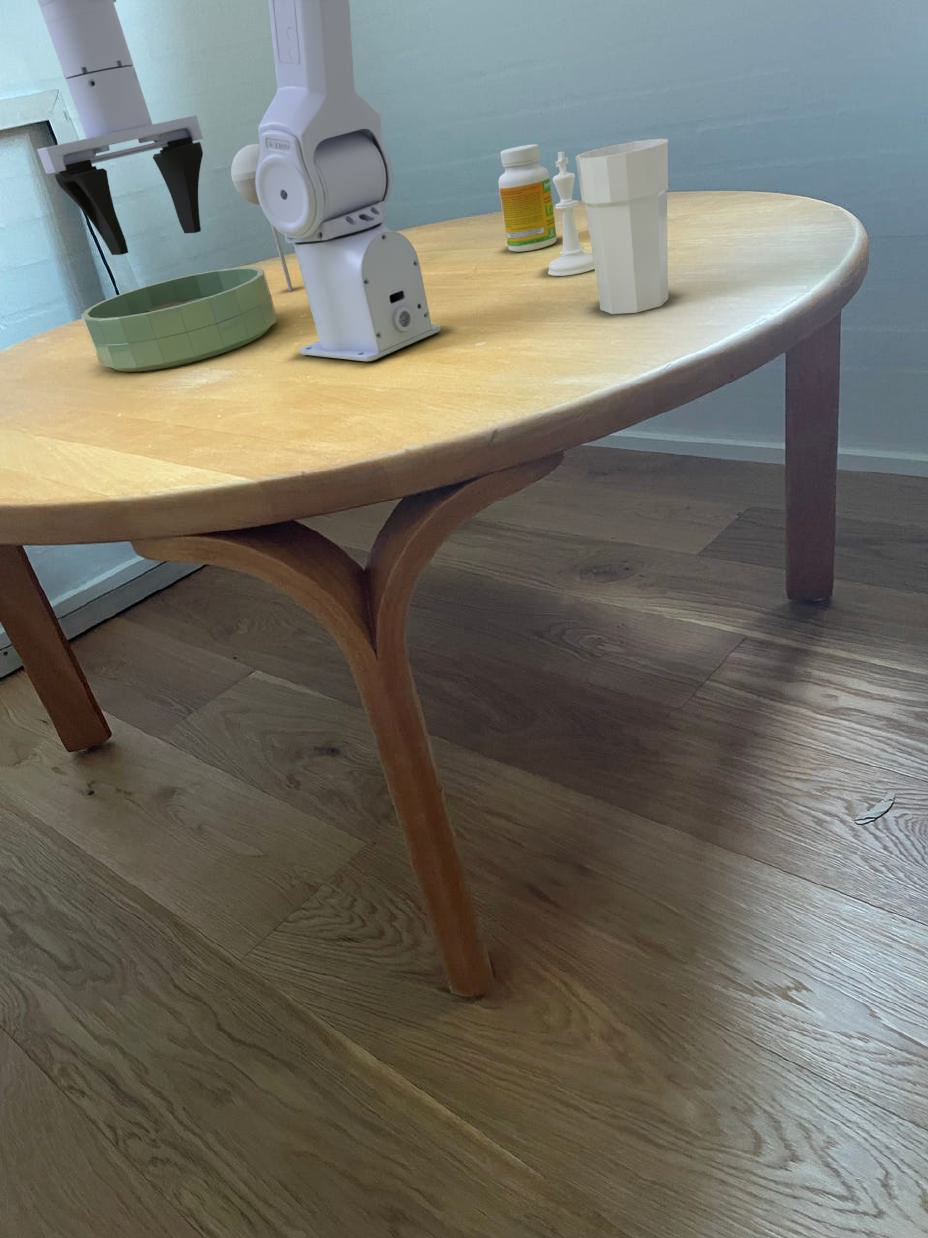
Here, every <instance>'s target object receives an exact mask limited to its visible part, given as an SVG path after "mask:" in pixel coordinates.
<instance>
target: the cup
mask: <svg viewBox="0 0 928 1238" xmlns="http://www.w3.org/2000/svg"><path fill="white" fill-rule="evenodd" d="M669 162H670V161H669V139H668V138H649V139H643V140H641V139H640V140H634V141H629V142H624V143H618V144H612V145H608V146H603V147H600V148H595V149H592V150H589V151H585V152H582V153H580V154H577V155H576V156H575V165H576V170H577V177H578V183H579V190H580V197H581V203H582V204H583V206H584V210H585V216H586V217H585V218H586V223H587V229H588V235H589V242H590V249H591V253H592V255H593V262H594V268H595V269H594V274H595V280H596V286H597V294H598V300H599V309H600V311H602V312H605V313H607V314H611V315H620V314H635V313H636V314H637V313H640V312H644V311H648V310H652V309H655V308H658V307H662V306H663V305H664V304H665V303H666V302H667V301H668V300H669V267H668V266H669V265H668V263H669V257H668V256H669V255H668V251H669V249H668V189H669V188H670V187H669V185H670V184H669V183H670V175H669V171H670V169H669V167H670V165H669Z"/></svg>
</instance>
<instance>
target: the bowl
mask: <svg viewBox="0 0 928 1238" xmlns="http://www.w3.org/2000/svg"><path fill="white" fill-rule="evenodd" d="M169 302H187V303H186V304H182V305H178V306H174V307H170V308H165V309H161V310H157V311H152V312H147V313H146V310H148V309H151V308H154V307H157V306H160V305H163V304H166V303H169ZM80 317H81V320H82V322H83V323H84V327H85V329H86V331H87V334H88V337H89V339H90V342H91V344H92V347H93V350H94V352H95V355H96V357H97V360H98V362H99V364H101V366H102V367H104V368H105V367H106V368H109V369H110V368H111V369H113V370H115V371H118V372H125V373H126V372H127V373H136V372H148V371H156V370H163V369H168V368H174V367H178V366H183V365H187V364H192V363H196V362H199V361H202V360H207V359H209V358H213V357H216V356H219V355H222V354H225V353H228V352H230V351H233V350H236V349H238V348H241V347H243V346H245V345H248V344H249V343H252V342H253V341H255V340H257V339H258V338H259V339H260V337H262V336H264V335H265V334H266V333H267V332H268V331H269V330H270V328H271V326H273V325H274V324H276V322H277V312H276V308H275V305H274V301H273V298H272V295H271V290H270V287H269V284H268V280H267V276H266V274H265V269H262V268H260V267H257V266H256V267H255V266H253V267H252V266H245V267H244V266H239V267H231V268H223V269H221V268H220V269H216V270H209V271H205V272H198V273H193V274H188V275H185V276H179V277H176V278H171V279H167V280H164V281H160V282H156V283H153V284H148V285H145V286H142V287H138V288H136V289H135V288H134V289H131V290H129V291H126V292H123V293H120V294H118V295H115V296H113V297H109V298H107V299H104V300H101V301H100V302H98V303H96V304H93V305H92V306H90V307H87V308H86V310H84V312H83V313H82V314H81V315H80Z"/></svg>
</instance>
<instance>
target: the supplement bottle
mask: <svg viewBox="0 0 928 1238" xmlns="http://www.w3.org/2000/svg"><path fill="white" fill-rule="evenodd" d="M540 156H541V154H540V149H539V144H537V143H533V144H532V143H531V144H525V145H520V146H515V147H514V146H513V147H510V148H506V149H503V150H501V151H500V161H501V165H502V167H503V168H504V172H503V173H502V174H501V175H500V176H499V178H498V181H497V182H498V192H499V198H500V205H501V212H502V218H503V225H504V233H505V238H506V239H505V240H506V245H507V249H508V250H509V251H511V252H518V253H519V252H529V251H535V250H540V249H543V248H546V247H549V246H553V244H555V243H556V242H557V229H556V221H555V213H554V205H553V196H552V190H551V189H552V188H551V180H550V174H549V171H548V169H547V168H546V167H545V166H541V165H540V164H539V160H541V157H540Z"/></svg>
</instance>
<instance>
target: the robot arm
mask: <svg viewBox="0 0 928 1238" xmlns="http://www.w3.org/2000/svg"><path fill="white" fill-rule="evenodd" d="M37 3H38V5H39V8H40V11H41V14H42V17H43V20H44V22H45V25H46V28H47V30H48V33H49V37H50V39H51V43H52V45H53V48H54V51H55V53H56V56H57V59H58V62H59V65H60V66H61V70H62V73H63V76H64V79H65V81H66V84H67V87H68V90H69V92H70V96H71V98H72V101H73V105H74V106H75V109H76V113H77V114H78V118H79V121H80V123H81V127H82V129H83V132H84V135H85V138H83V139H79V140H74V141H73V140H72V141H70V142H65V143H60V144H56V145H55V144H54V145H51V146H46V147H41V148H37V149H36V151H37V153H38V157H39V159H40V162H41V164H42V167H43V170H44V172H45V174H46V175H50V174H54V178H55V180H56V182H57V184H58V186H59V187H60V188H61V189H62V190H63V191H64V192H65V193H66V194H67V195H68V196H69V197H70V198H71V199H72V200H73V201H74V203H75V204H76V205H77V206H78V207H79V208H80V210H81V211H82V212H83V213H84V214H85V215H86V217H87V218H88V219H89V221H90V222H91V224H92V225H93V227H94V228H95V229H96V231H97V232H98V234H99V236H100V237H101V238H102V240H103V241H104V244H105V245H106V247H107V248H108V250H109V253H110V254H111V256H122V255H125V254H129V249H128V244H127V241H126V238H125V235H124V232H123V229H122V227H121V224H120V221H119V219H118V216H117V213H116V210H115V205H114V202H113V197H112V194H111V189H110V184H109V183H110V182H109V177H108V171H107V169H105V168H103V167H102V168H97V166H96V165H94V166H93V164H98V163H102V162H106V161H110V160H115V159H119V158H123V157H128V156H131V155H137V154H142V153H145V152H149V151H153V150H157V149H160V150H159V153H154V154H153V155H152V159H153V161H154V163H155V165H156V166H157V168H158V170H159V173H160V174H161V176H162V178H163V181H164V182H165V185H166V187H167V190H168V192H169V194H170V197H171V200H172V203H173V206H174V210H175V213H176V216H177V219H178V222H179V224H180V227H181V229H182V232H183V233H184V234H197V233H199V232H201V231H202V229H201V228H202V227H201V219H200V218H201V217H200V208H199V207H200V206H199V183H200V182H199V181H200V172H201V166H202V165H201V164H202V160H203V155H204V152H203V146H202V143H201V142H200V141H199V140H202V139H204V136H203V133H202V130H201V126H200V123H199V120H198V117H197V114H196V115H191V116H186V117H181V118H176V119H170V120H168V121H163V122H157V123H154V124H153V121H152V118H151V115H150V112H149V109H148V105H147V102H146V100H145V97H144V93H143V91H142V86H141V84H140V81H139V77H138V75H137V72H136V68H135V66H134V62H133V59H132V56H131V53H130V49H129V46H128V43H127V40H126V37H125V34H124V31H123V28H122V24H121V21H120V17H119V15H118V12H117V9H116V6H115V5H116V4H115V3H117V0H37ZM267 4H268V10H269V21H270V33H271V40H272V49H273V60H274V68H275V70H274V71H275V78H276V88H277V89H276V93H275V95H274V96H273V99H272V100H271V103H270V104H269V106H268V108H267V109H266V111H265V113H264V115H263V117H262V119H261V121H260V123H259V125H258V128H257V130H258V131H257V132H258V140H259V144H260V155H259V161H258V165H257V169H256V176H255V184H256V192H257V196H258V200H259V203H260V205H259V206H260V208H261V211H262V212H263V215H265V217H266V219H267V221H268V222H269V223H270V225H271V224H272V225H273V226H274V228H275V229H276V230H277V232H279V233H280V234H281V235H283V236H284V239H285V243H286V244H292V245H293V247H294V252H295V255H296V259H297V262H298V267H299V270H300V273H301V278H302V281H303V285H304V289H305V292H306V296H307V300H308V304H309V308H310V311H311V316H312V320H313V324H314V327H315V330H316V334H317V339H318V340H317V341H315V342H313V343H309V344H307V345H305V346H303V347H301V348H299V352H300V355H304V356H314V357H322V358H333V359H341V360H351V361H360V362H372V361H376V360H378V359H379V358H382V357H384V356H387V355H389V354H391V353H394V352H395V351H398V350H400V349H402V348H404V347H407V346H409V345H411V344H414V343H417V342H418V341H420V340H423V339H425V338H428V337H430V336H433V335H435V334H436V333H439V332H440V331H441V326H440V325H439V324H432V320H431V314H430V311H429V303H428V300H427V295H426V289H425V285H424V281H423V280H424V279H423V275H422V270H421V263H420V260H419V256H418V254H417V251H416V249H415V247H414V245H413V244H412V242H411V241H410V240H409V239H408V238H407V237H406V236H405V235H403V234H402V233H401V232H398V231H395V230H390V229H388V228H387V227H386V226H385V224H384V223H383V222H382V221H383V220H384V219H386V218H387V217H388V214H387V212H386V206H385V205H386V204H387V202H388V201H389V199H390V196H391V194H392V189H393V184H394V173H393V167H392V162H391V158H390V155H389V153H388V151H387V148H386V146H385V142H384V140H383V134H382V133H383V132H382V121H381V119H382V118H381V114H380V113H379V112H378V110H377V109H376V108H375V107H374V106H373V105H371V104H370V103H369V101H367V100H365V98H364V97H362V96H361V95H360V94H359V93H358V92H357V91H356V88H355V77H354V60H353V59H354V58H353V41H352V26H351V25H352V24H351V23H352V22H351V9H350V0H267ZM134 140H138V144H142V145H138V146H135V147H129V148H125V149H121V150H116V151H112V152H109V151H110V146H112V145H116V144H120V143H121V144H122V143H126V142H129V141H134ZM194 141H198V142H194ZM148 142H152V143H148ZM144 143H147V144H144ZM104 152H107V153H104ZM108 152H109V153H108ZM100 153H103V154H100ZM97 154H99V155H97Z"/></svg>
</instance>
